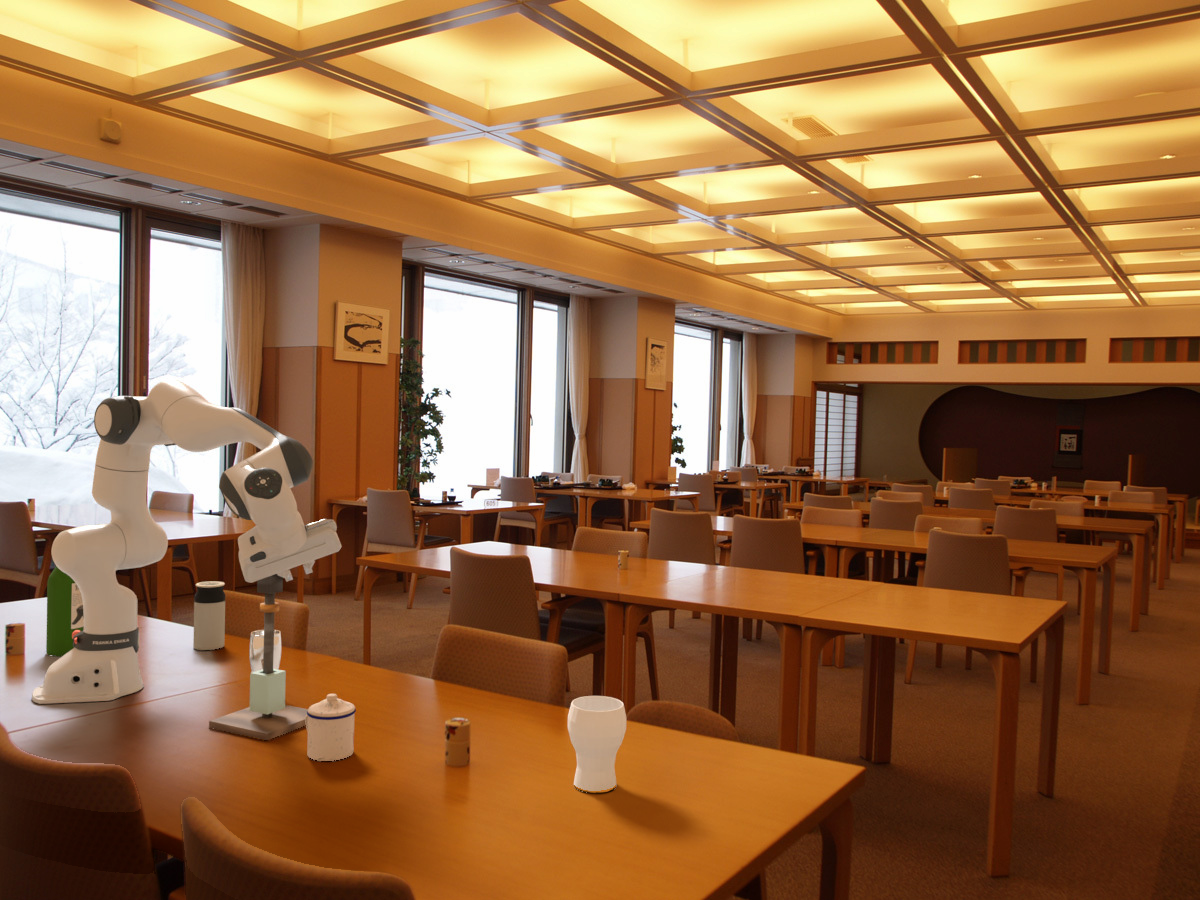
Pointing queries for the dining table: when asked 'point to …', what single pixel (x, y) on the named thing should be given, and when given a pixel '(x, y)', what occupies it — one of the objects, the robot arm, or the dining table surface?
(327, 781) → the dining table surface
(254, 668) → the beer glass
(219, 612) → the travel mug
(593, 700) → the cup
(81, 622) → the wine bottle
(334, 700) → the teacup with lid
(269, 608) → the post stand
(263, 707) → the marker sleeve
